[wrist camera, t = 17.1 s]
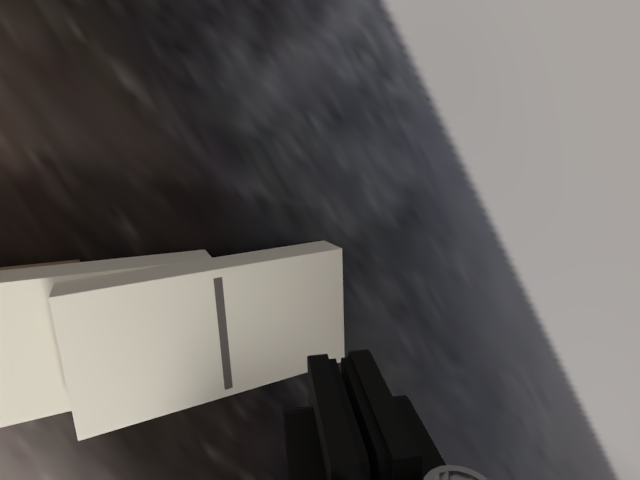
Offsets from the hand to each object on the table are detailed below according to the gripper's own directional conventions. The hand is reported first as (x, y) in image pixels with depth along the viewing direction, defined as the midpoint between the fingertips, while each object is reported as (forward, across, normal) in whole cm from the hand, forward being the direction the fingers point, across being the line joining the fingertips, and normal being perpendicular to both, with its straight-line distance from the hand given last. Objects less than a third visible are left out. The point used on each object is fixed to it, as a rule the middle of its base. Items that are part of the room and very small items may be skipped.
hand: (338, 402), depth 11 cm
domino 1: (+7, -1, 0) cm, 7 cm away
